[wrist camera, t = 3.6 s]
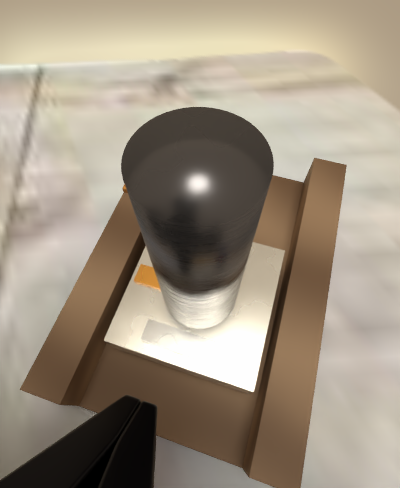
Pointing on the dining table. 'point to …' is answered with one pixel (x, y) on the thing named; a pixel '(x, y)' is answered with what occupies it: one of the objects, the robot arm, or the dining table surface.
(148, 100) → the dining table surface
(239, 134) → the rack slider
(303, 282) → the walnut guide
